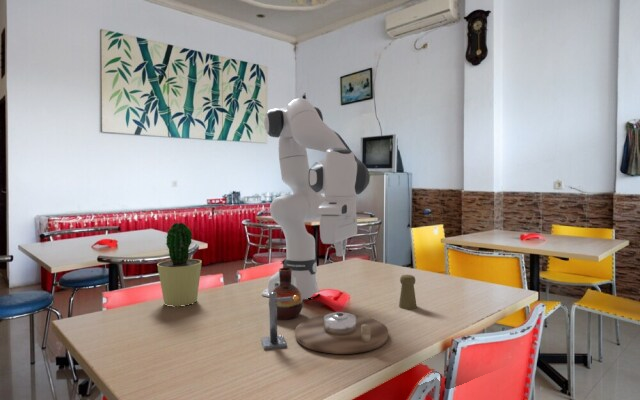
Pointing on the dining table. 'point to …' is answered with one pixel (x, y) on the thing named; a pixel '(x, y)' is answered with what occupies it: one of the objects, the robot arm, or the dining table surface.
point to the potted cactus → (179, 268)
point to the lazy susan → (362, 340)
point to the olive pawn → (407, 292)
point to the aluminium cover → (339, 323)
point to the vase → (287, 290)
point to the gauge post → (275, 323)
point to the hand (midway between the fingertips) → (340, 255)
